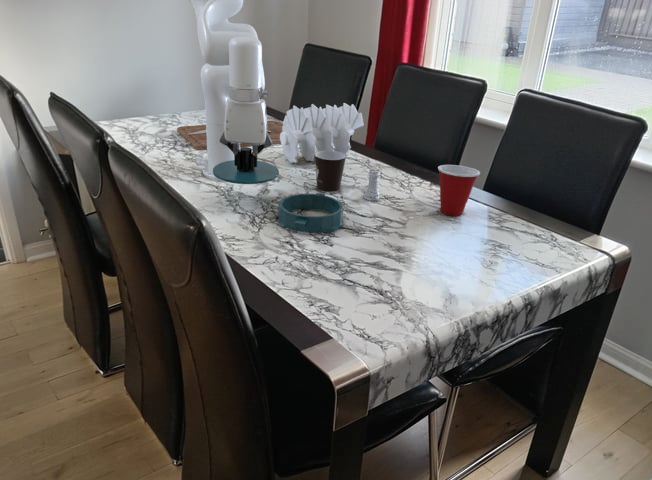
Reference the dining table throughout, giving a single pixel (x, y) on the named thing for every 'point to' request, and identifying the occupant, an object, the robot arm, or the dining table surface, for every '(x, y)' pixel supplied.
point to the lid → (245, 170)
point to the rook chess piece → (372, 186)
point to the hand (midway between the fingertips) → (246, 168)
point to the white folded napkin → (318, 130)
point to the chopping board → (199, 137)
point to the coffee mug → (329, 170)
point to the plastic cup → (455, 187)
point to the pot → (310, 222)
